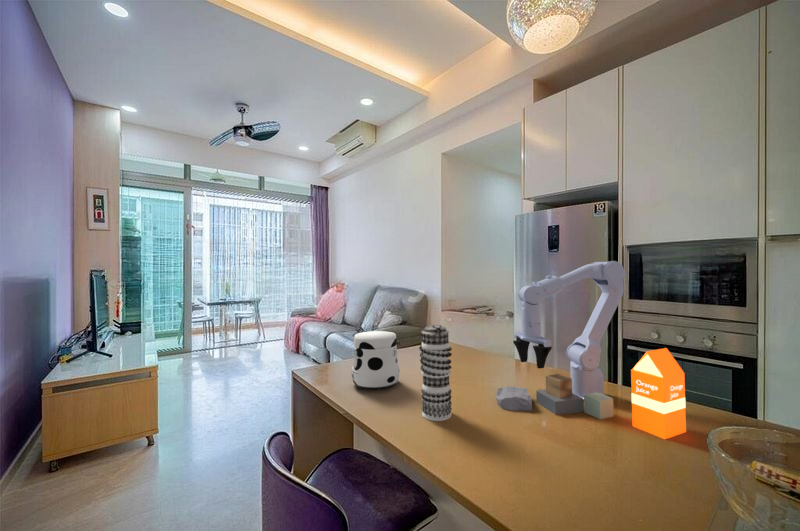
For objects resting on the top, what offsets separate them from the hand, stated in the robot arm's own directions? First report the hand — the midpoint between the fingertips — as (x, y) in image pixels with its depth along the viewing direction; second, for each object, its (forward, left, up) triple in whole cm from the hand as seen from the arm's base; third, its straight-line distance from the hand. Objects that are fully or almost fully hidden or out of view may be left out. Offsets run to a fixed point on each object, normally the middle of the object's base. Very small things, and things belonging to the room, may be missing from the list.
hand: (532, 364), depth 109 cm
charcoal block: (-1, +10, -10) cm, 14 cm away
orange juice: (-13, +30, -10) cm, 34 cm away
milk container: (+44, -30, -10) cm, 54 cm away
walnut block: (-1, +10, -6) cm, 12 cm away
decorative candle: (+35, +1, -10) cm, 36 cm away
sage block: (-7, +18, -10) cm, 22 cm away
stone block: (+10, +2, -10) cm, 14 cm away
